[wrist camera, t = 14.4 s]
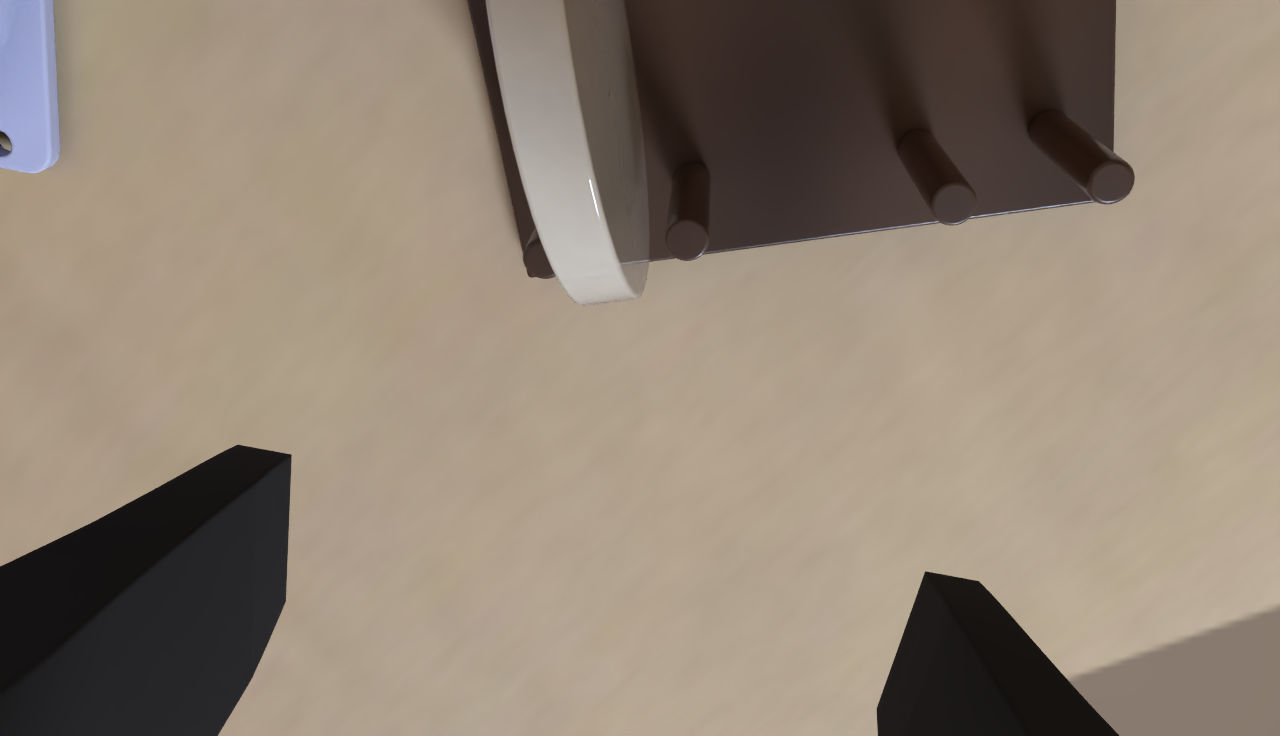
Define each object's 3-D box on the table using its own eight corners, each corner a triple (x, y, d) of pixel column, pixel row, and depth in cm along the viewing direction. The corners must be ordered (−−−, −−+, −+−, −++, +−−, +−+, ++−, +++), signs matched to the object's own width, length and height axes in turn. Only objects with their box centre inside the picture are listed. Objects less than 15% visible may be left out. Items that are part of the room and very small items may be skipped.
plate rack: (532, 268, 22) (494, 354, 18) (422, -238, 18) (346, -260, 14) (1103, 191, 20) (1188, 266, 17) (1111, -374, 17) (1222, -439, 13)
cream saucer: (612, 222, 21) (562, 389, 14) (536, -200, 18) (429, -235, 11) (659, 216, 21) (629, 381, 14) (590, -210, 18) (513, -251, 11)
